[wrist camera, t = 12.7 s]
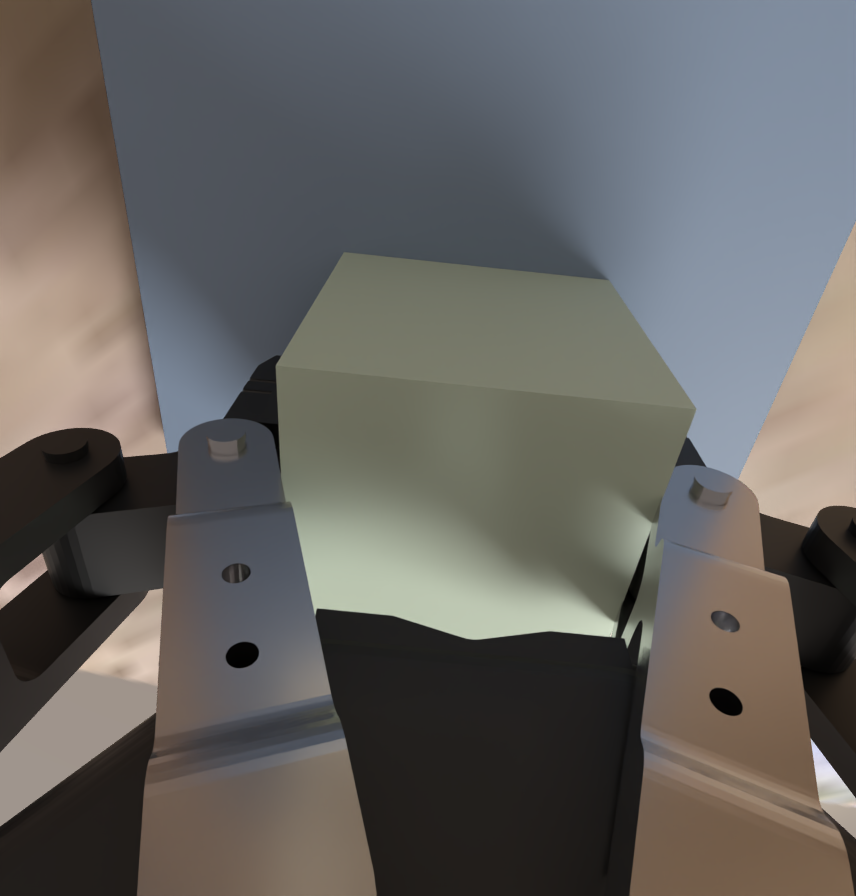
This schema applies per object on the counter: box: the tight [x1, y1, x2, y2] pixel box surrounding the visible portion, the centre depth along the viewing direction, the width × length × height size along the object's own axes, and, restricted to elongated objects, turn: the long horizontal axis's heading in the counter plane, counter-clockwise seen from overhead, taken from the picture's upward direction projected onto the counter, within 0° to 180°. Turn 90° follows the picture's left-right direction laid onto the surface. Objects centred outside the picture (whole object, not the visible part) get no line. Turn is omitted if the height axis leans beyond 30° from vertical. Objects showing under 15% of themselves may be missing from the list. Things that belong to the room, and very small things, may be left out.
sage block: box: [276, 252, 697, 640], centre depth 11 cm, size 5×5×5 cm
